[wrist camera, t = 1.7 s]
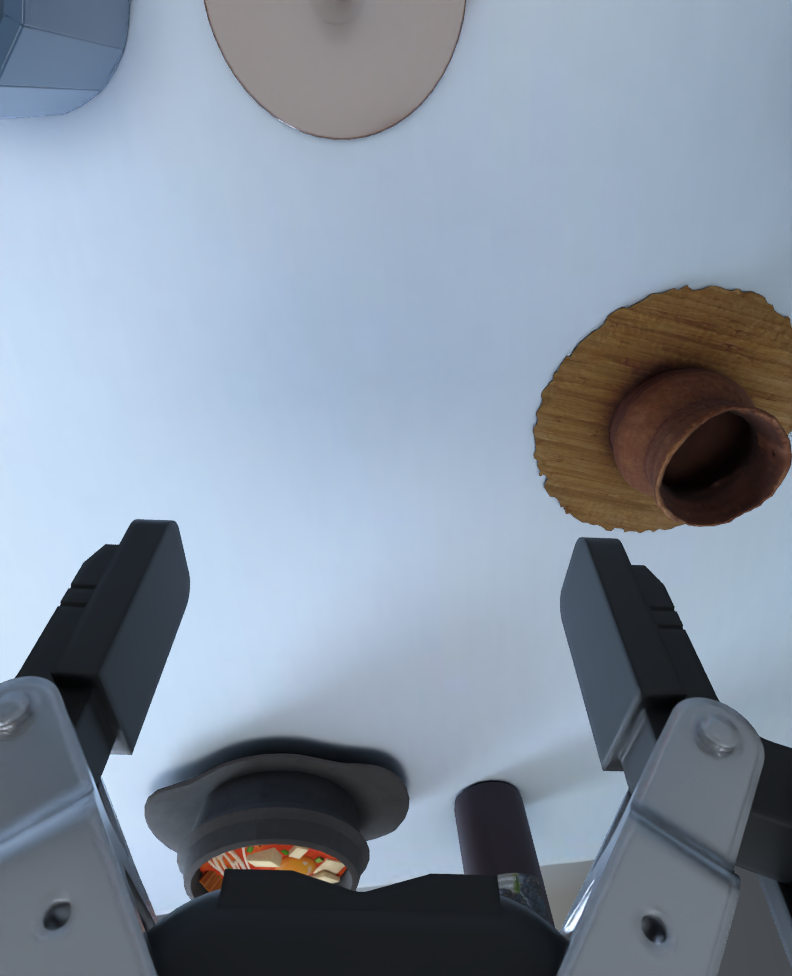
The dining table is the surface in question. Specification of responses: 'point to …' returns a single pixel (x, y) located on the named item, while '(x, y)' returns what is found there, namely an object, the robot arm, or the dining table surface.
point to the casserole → (277, 818)
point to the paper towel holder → (337, 58)
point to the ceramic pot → (671, 413)
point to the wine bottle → (501, 843)
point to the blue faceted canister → (57, 53)
